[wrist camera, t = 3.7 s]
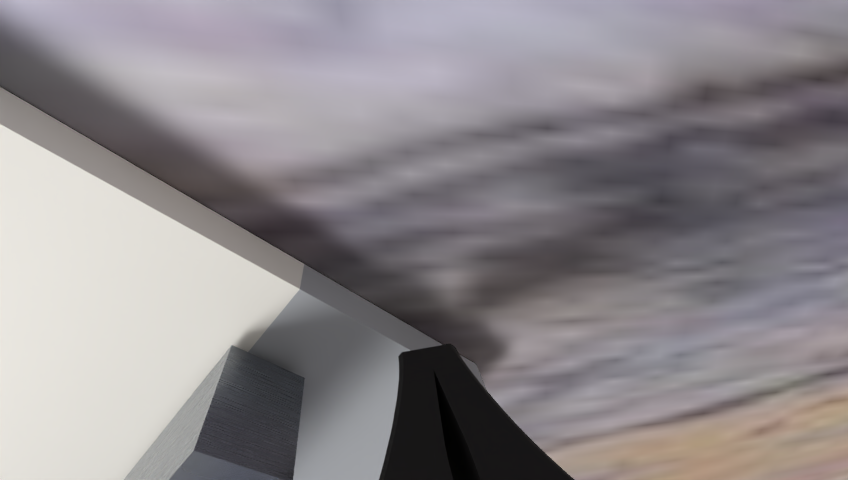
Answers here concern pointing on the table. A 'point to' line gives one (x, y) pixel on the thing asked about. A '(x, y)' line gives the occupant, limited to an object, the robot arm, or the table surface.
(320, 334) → the door board
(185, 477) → the swing bar
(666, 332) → the table surface
